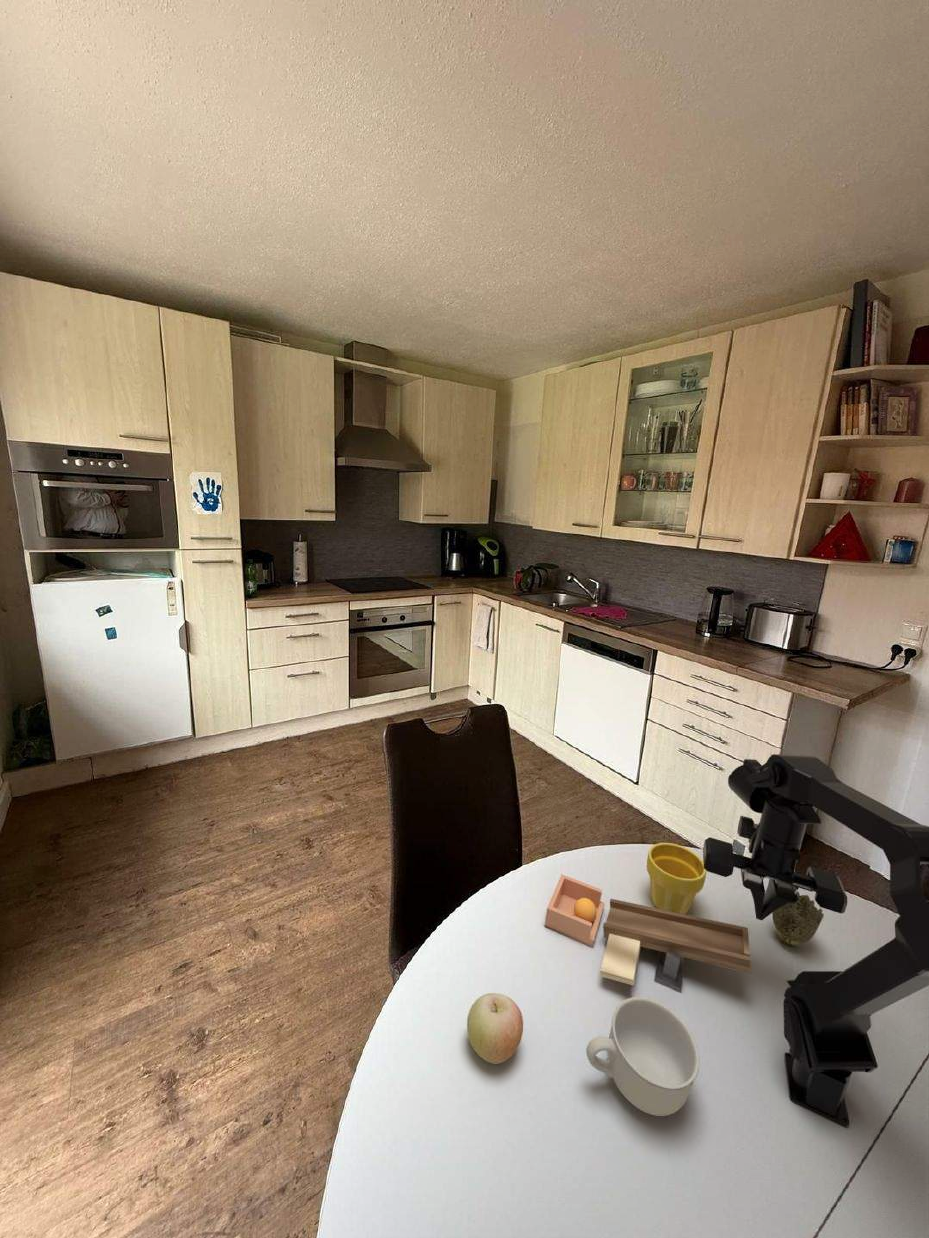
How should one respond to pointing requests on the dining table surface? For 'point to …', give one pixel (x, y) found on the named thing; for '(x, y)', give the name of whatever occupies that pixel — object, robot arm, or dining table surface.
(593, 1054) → the teacup
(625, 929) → the lever
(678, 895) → the plant pot
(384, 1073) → the dining table surface
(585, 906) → the ball
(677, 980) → the seesaw stand
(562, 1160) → the dining table surface
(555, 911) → the peach open tray
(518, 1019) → the fruit
